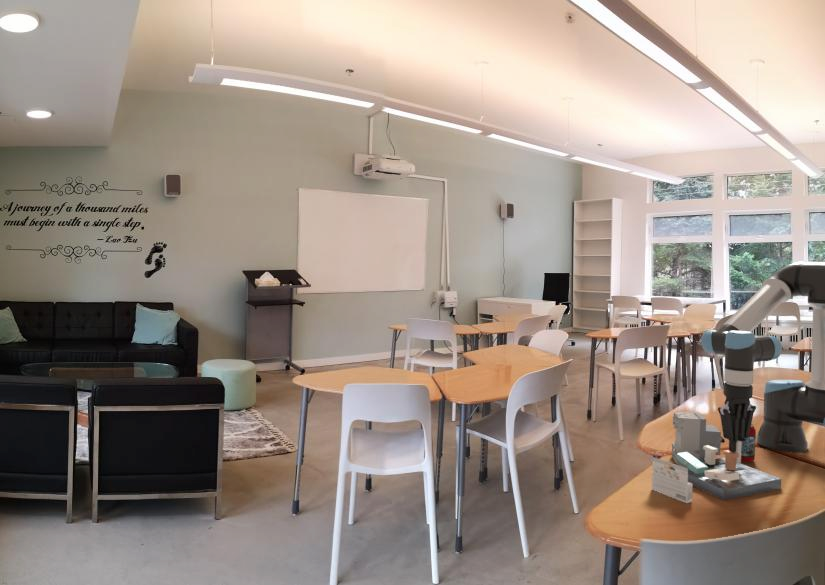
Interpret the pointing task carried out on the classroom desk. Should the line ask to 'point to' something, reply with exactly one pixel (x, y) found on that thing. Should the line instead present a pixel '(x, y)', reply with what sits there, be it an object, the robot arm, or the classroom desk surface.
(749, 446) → the beverage can
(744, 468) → the panel
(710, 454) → the slider ivory
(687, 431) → the circuit breaker
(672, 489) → the ink cartridge box
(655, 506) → the classroom desk surface
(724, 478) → the rocker ivory
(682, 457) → the rocker teal
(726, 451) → the slider rust
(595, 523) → the classroom desk surface
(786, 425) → the robot arm
